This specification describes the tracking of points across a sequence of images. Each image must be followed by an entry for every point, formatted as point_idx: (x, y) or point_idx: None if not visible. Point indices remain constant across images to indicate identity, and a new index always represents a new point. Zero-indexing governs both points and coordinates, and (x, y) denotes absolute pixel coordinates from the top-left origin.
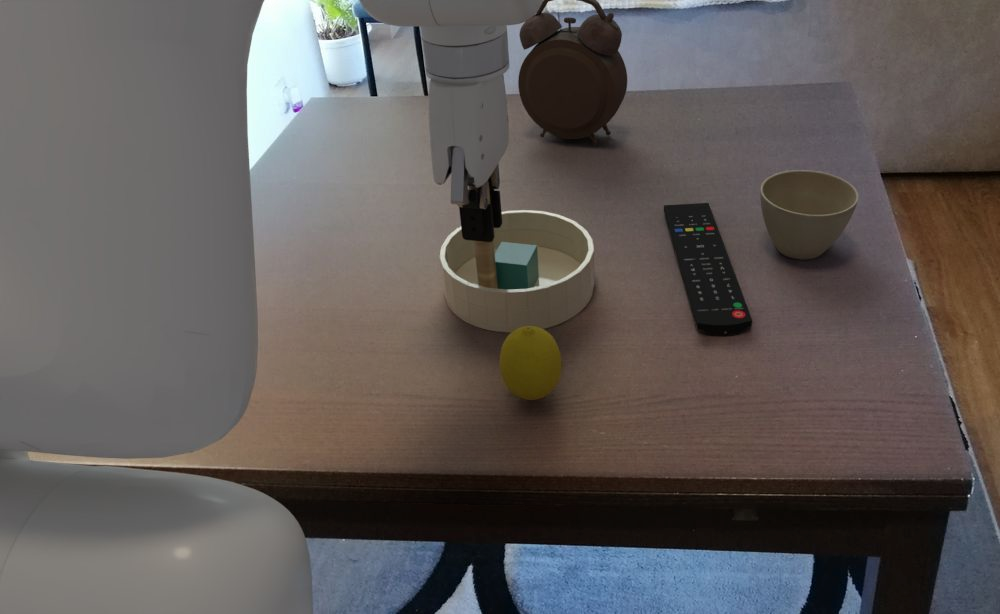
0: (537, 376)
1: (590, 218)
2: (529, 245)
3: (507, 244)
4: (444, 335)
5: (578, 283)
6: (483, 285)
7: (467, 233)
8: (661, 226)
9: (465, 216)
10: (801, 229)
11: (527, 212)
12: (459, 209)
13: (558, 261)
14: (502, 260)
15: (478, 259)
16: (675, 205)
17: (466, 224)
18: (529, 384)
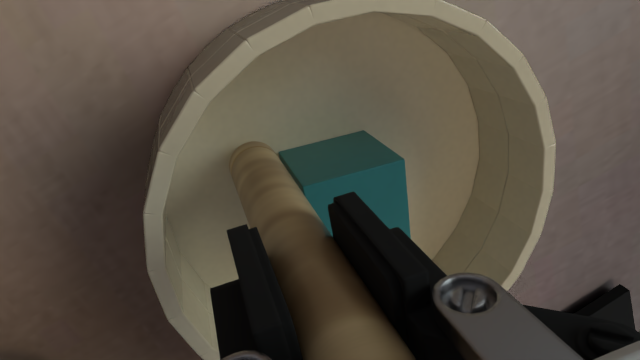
0: None
1: (596, 174)
2: (406, 233)
3: (395, 181)
4: (73, 124)
5: None
6: (234, 183)
7: (210, 289)
8: (579, 292)
9: (219, 347)
10: None
11: (544, 153)
12: (249, 310)
13: (434, 213)
14: (319, 213)
15: (249, 209)
16: (628, 306)
17: (214, 318)
18: None
